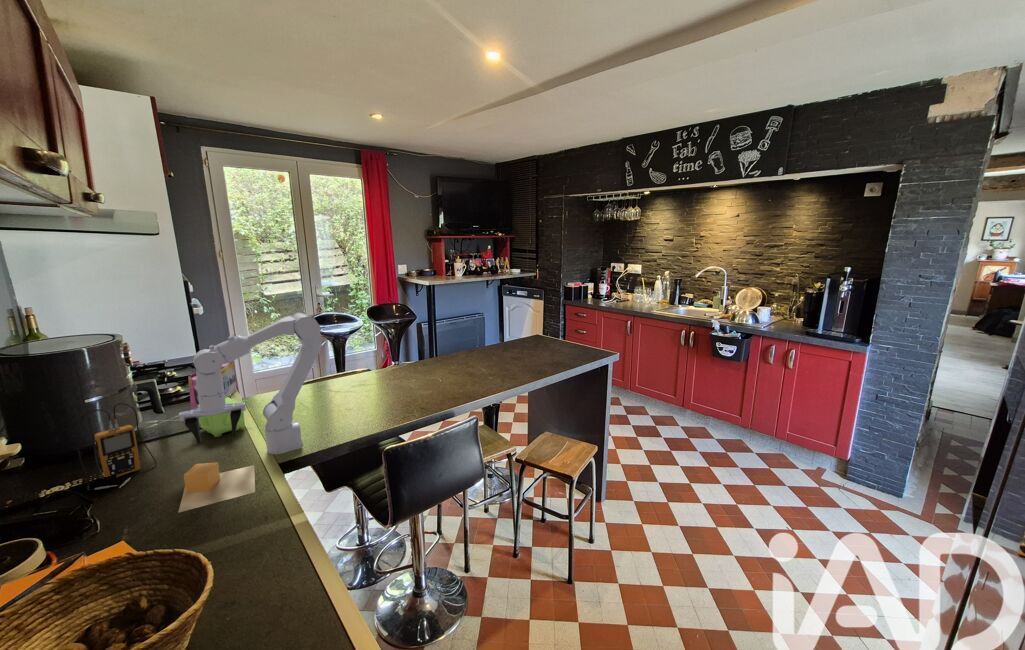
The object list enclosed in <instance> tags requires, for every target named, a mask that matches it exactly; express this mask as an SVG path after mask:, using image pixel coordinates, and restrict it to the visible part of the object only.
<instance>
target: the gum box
mask: <svg viewBox="0 0 1025 650" xmlns="http://www.w3.org/2000/svg"><path fill="white" fill-rule="evenodd" d="M235 368H236V367H235V360H234V361H232V362H229V363H227V364H223V365H222V367H221V368H220V369H221V375H222V377H223V385H224V394H225V398H227V397H228V396H229V395H230V394H232V393H233V394H235V393H236V391H235V390H236V389H237V390H238V383H237V374H236V369H235ZM187 377H188V389H189V390H188V391H189V399H190V401H189V402H190V407H191V408H190V410H193V409H198V405H199V398H198V391H197V383H196V378H197V377H196V372H193V373H192V374H191V375H189V376H187ZM235 387H236V388H235ZM233 394H232V395H233ZM230 396H231V395H230ZM230 396H229V397H230Z"/></svg>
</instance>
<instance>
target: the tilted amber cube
mask: <svg viewBox="0 0 1025 650" xmlns="http://www.w3.org/2000/svg"><path fill="white" fill-rule="evenodd" d="M220 473H221V472H220V467H219V462H218V461H217V462H205V463H195V464H194V465H193V466H192V467H191V468H190V469H189V470H187V471H186V472H185V473H184V474H183V479H184V488H186V493H194V492H205V491H210V490H211V489H212V488H213V487H214V486H215V485H216V484H217V483H218V482H219V480H220Z"/></svg>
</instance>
